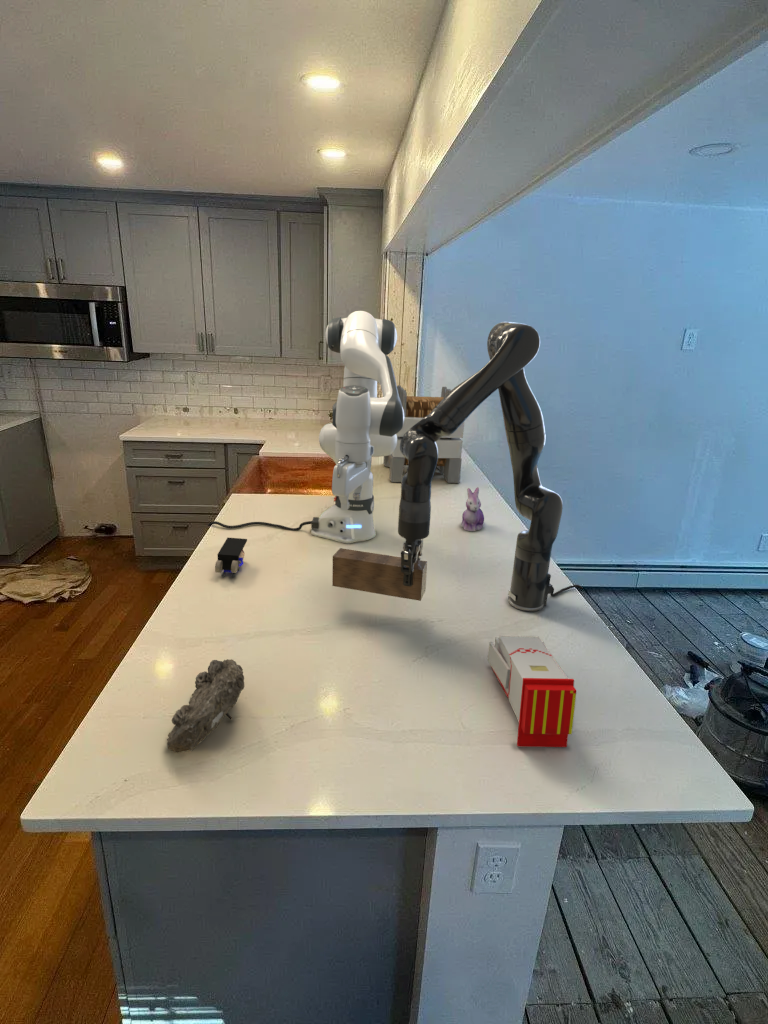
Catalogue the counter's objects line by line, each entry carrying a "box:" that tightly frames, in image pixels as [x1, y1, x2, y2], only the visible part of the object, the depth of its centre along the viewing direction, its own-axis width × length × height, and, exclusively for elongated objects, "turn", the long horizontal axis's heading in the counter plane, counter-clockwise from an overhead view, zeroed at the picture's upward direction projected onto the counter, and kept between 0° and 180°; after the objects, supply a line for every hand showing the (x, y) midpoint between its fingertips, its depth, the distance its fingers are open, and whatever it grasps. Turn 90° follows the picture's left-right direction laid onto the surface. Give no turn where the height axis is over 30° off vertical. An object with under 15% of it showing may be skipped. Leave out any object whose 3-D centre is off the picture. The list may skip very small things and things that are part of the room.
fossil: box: [166, 658, 245, 754], centre depth 106 cm, size 22×10×15 cm
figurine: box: [461, 486, 485, 532], centre depth 206 cm, size 9×10×15 cm
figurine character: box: [214, 537, 248, 578], centre depth 166 cm, size 7×8×15 cm
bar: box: [331, 547, 428, 602], centre depth 142 cm, size 23×6×8 cm, turn 74°
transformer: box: [383, 384, 465, 484], centre depth 268 cm, size 34×33×41 cm
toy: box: [486, 635, 577, 748], centre depth 115 cm, size 12×13×30 cm
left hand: (351, 504), depth 147 cm, fingers open, 8 cm apart
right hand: (410, 579), depth 140 cm, fingers closed on bar, 5 cm apart
